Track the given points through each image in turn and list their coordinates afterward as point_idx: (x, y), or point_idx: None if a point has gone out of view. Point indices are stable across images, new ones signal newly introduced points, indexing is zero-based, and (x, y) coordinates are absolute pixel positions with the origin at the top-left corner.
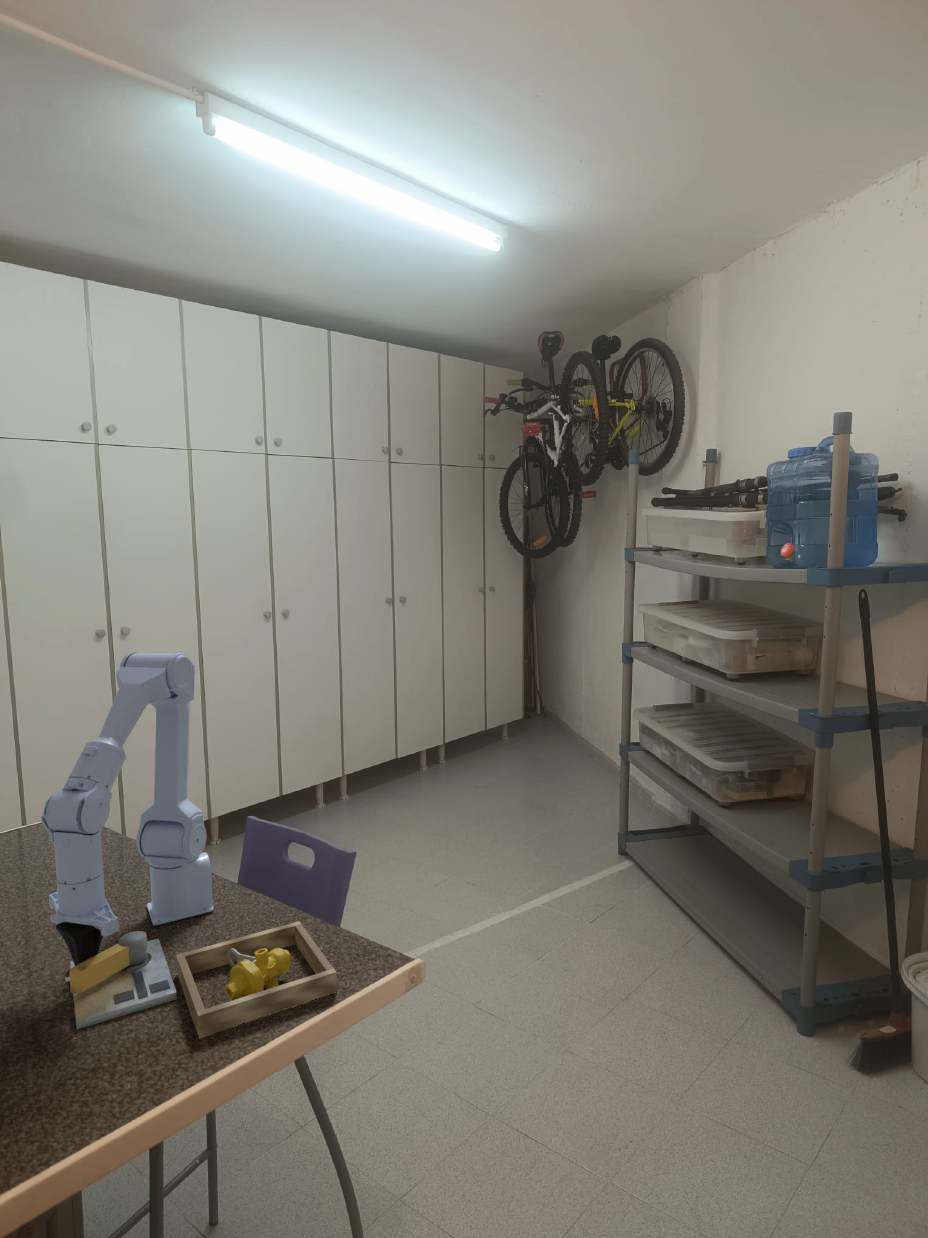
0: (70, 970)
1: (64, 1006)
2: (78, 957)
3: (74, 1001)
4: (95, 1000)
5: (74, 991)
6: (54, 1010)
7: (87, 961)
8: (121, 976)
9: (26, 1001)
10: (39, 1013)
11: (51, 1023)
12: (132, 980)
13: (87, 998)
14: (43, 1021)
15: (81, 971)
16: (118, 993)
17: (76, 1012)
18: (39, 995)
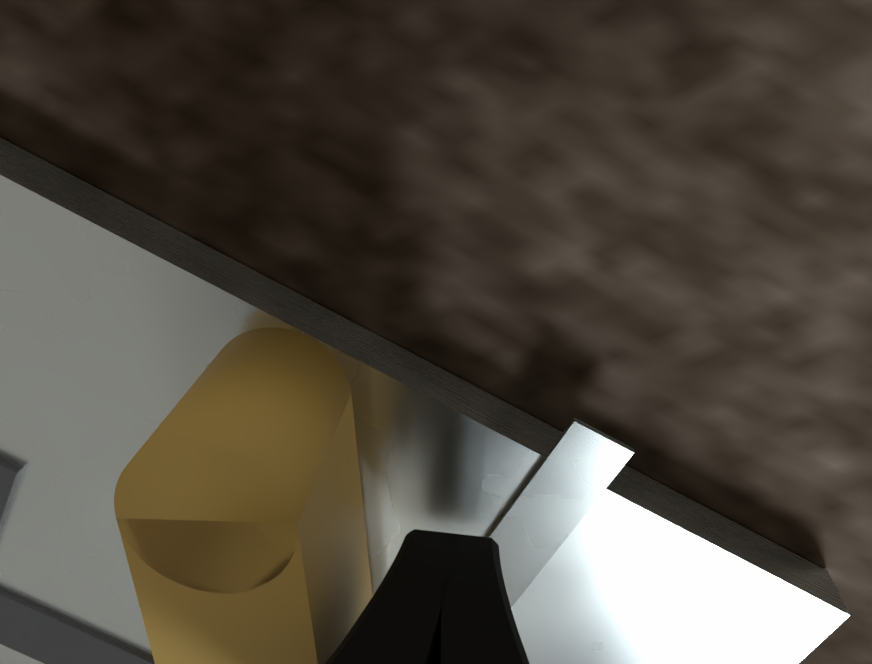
0: (248, 474)
1: (340, 236)
2: (336, 660)
3: (198, 282)
4: (72, 374)
5: (230, 343)
6: (358, 157)
7: (276, 652)
8: None
9: (750, 101)
10: (434, 56)
11: (182, 27)
12: (120, 636)
13: (150, 360)
14: (274, 3)
15: (124, 514)
16: (33, 504)
17: (12, 192)
18: (718, 222)
